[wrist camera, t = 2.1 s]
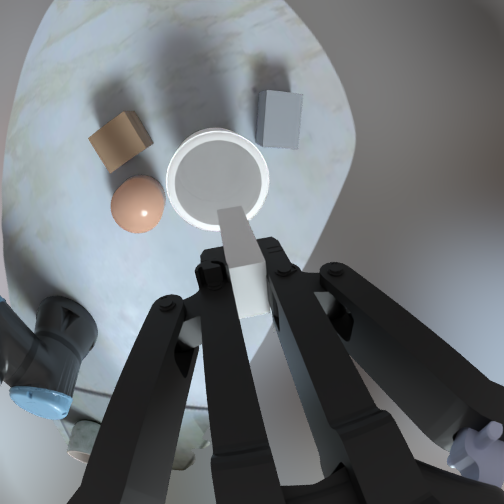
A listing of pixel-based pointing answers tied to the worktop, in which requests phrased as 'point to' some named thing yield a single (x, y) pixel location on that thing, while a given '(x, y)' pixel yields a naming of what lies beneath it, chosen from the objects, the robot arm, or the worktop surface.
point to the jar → (216, 177)
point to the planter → (82, 440)
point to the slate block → (279, 119)
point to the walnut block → (120, 140)
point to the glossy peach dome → (138, 204)
